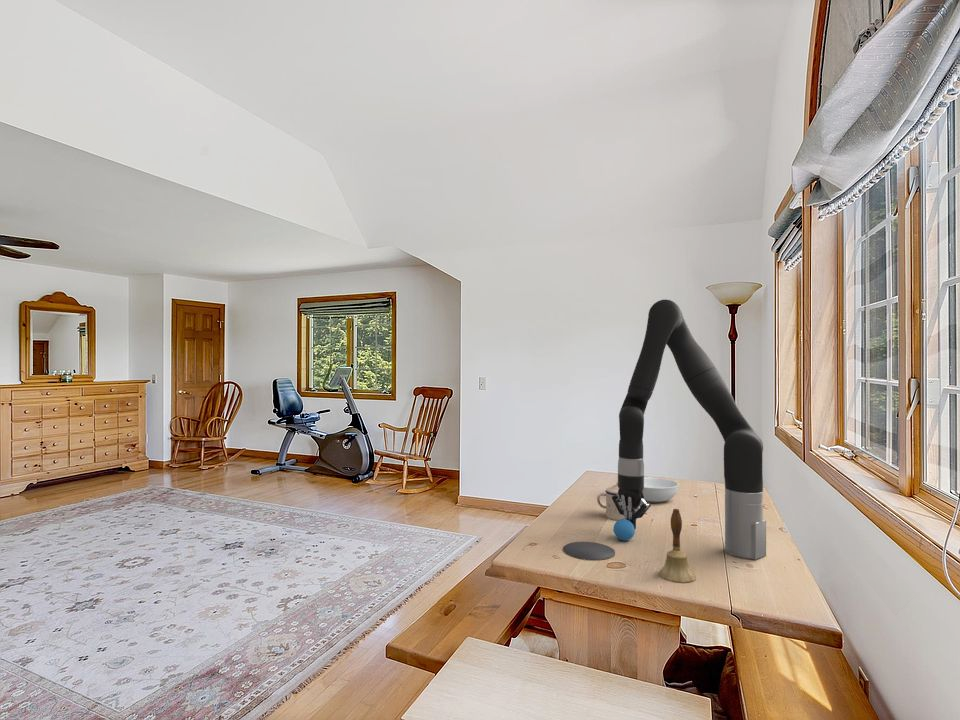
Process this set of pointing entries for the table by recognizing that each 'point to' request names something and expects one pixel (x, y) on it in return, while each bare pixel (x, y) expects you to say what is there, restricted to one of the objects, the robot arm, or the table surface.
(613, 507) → the teacup with lid
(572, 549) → the charcoal disc
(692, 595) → the table surface
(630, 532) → the ball
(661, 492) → the serving bowl
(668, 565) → the hand bell
